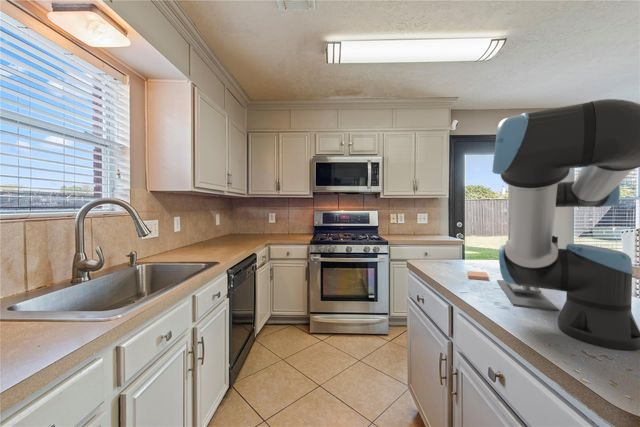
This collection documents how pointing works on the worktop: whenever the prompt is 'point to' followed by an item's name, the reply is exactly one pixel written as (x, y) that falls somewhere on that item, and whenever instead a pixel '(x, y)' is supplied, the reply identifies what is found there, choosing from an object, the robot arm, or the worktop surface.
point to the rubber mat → (526, 298)
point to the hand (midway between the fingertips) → (529, 289)
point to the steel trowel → (527, 290)
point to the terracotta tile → (477, 275)
